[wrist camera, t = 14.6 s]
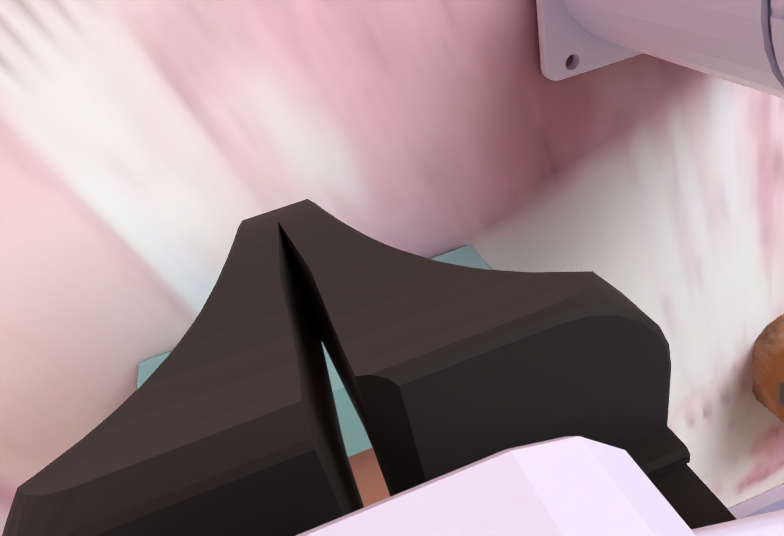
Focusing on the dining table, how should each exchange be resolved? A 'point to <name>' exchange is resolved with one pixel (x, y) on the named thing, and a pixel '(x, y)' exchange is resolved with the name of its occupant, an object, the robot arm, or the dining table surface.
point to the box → (770, 367)
